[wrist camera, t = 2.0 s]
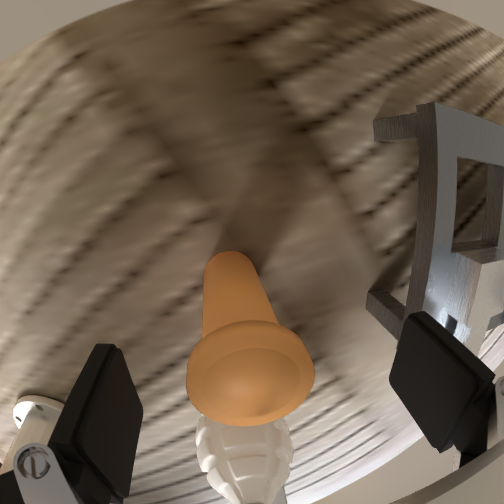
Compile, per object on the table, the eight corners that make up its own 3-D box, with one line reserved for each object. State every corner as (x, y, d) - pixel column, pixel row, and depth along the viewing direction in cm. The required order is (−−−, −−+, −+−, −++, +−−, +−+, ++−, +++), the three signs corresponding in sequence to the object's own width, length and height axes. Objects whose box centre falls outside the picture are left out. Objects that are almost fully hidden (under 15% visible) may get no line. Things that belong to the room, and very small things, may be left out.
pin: (264, 302, 19) (309, 416, 10) (199, 308, 19) (197, 430, 9) (262, 240, 18) (319, 325, 8) (192, 245, 17) (175, 340, 8)
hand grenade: (294, 408, 23) (341, 535, 10) (231, 435, 23) (250, 560, 10) (252, 352, 20) (297, 520, 8) (179, 386, 20) (174, 542, 8)
